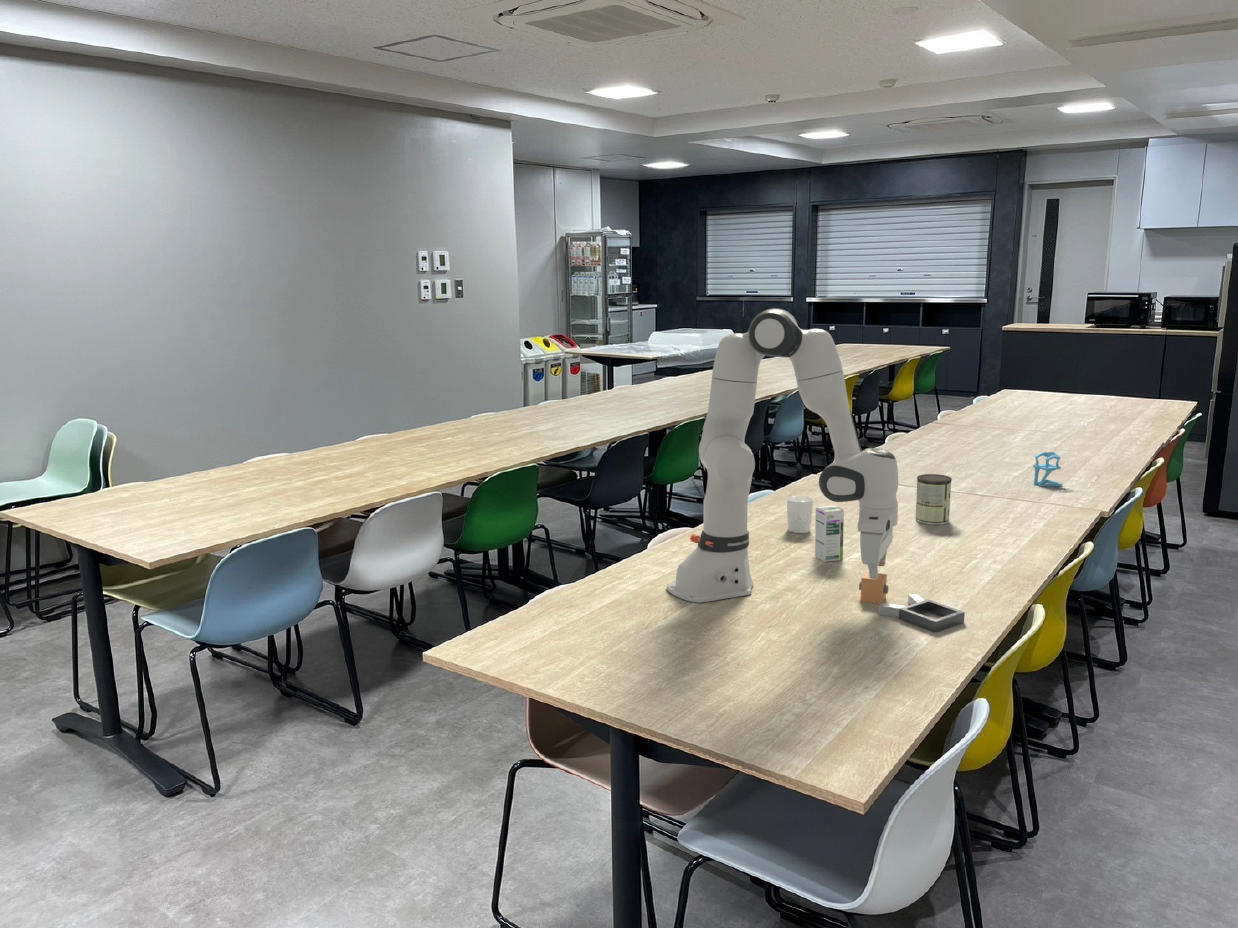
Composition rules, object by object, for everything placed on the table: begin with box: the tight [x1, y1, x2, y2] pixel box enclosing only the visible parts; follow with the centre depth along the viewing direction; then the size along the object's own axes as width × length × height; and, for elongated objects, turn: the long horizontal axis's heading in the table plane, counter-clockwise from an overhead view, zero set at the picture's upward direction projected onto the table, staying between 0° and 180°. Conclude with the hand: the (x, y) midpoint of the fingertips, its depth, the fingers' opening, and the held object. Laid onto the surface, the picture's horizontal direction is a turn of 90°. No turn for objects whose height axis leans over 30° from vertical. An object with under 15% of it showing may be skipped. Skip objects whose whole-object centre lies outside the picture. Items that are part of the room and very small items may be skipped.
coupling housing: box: [878, 593, 965, 633], centre depth 207 cm, size 13×16×2 cm
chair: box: [1032, 451, 1063, 488], centre depth 328 cm, size 8×8×12 cm
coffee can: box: [915, 473, 953, 526], centre depth 284 cm, size 10×10×14 cm
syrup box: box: [814, 505, 845, 563], centre depth 249 cm, size 6×6×14 cm
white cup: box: [786, 495, 814, 534], centre depth 277 cm, size 8×8×10 cm
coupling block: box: [858, 571, 889, 605], centre depth 219 cm, size 5×7×6 cm
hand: (877, 571), depth 218 cm, fingers open, 8 cm apart
